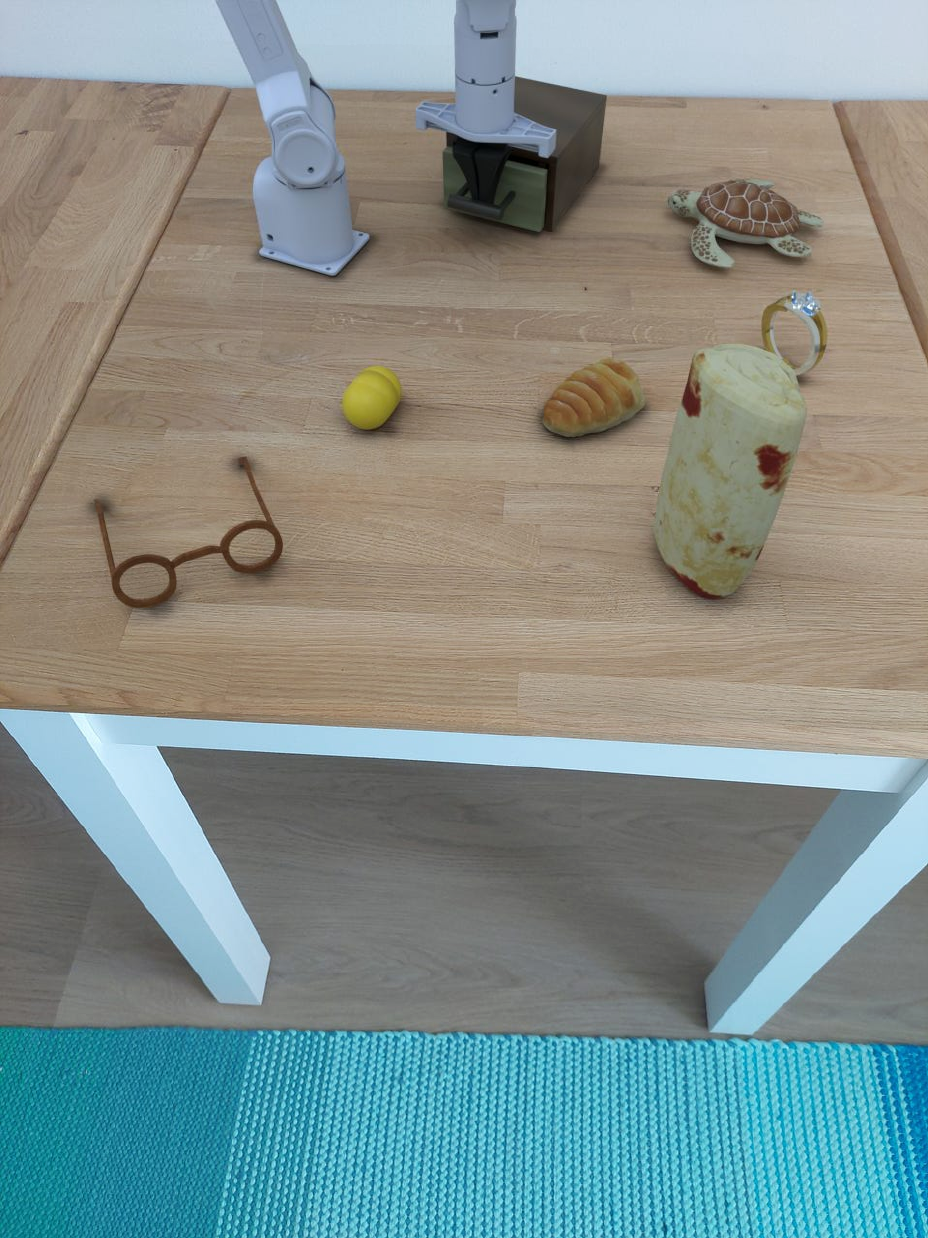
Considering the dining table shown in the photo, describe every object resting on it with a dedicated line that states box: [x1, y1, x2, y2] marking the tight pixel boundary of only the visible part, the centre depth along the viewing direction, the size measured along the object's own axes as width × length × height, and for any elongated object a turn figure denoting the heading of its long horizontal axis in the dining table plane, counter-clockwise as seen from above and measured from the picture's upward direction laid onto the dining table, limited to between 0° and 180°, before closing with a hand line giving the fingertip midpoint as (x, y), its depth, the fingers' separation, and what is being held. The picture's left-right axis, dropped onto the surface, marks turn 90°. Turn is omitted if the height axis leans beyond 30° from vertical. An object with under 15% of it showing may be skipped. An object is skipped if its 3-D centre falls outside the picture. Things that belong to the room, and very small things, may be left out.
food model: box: [652, 343, 808, 600], centre depth 66 cm, size 10×7×20 cm
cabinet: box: [445, 75, 608, 232], centre depth 105 cm, size 15×13×8 cm
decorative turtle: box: [667, 178, 825, 269], centre depth 100 cm, size 18×17×5 cm
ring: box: [760, 289, 828, 377], centre depth 85 cm, size 7×3×8 cm, turn 25°
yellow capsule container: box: [341, 365, 403, 431], centre depth 83 cm, size 6×4×4 cm
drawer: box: [441, 146, 549, 233], centre depth 102 cm, size 18×12×6 cm, turn 155°
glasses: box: [93, 456, 284, 609], centre depth 75 cm, size 13×13×5 cm
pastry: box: [542, 357, 646, 438], centre depth 84 cm, size 9×7×4 cm
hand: (484, 207), depth 99 cm, fingers closed, pressing on drawer
